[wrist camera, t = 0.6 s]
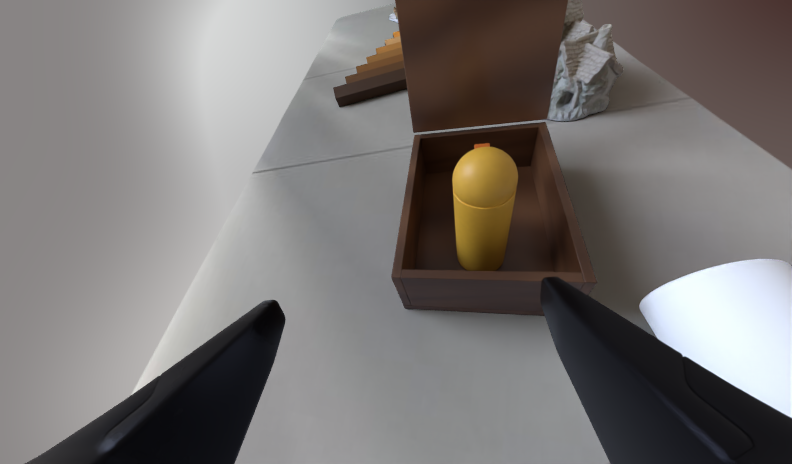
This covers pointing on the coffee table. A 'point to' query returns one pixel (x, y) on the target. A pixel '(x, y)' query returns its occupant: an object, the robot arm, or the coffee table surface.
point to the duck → (483, 206)
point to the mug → (732, 325)
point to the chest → (528, 234)
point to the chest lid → (479, 60)
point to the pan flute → (375, 75)
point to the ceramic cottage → (582, 68)
